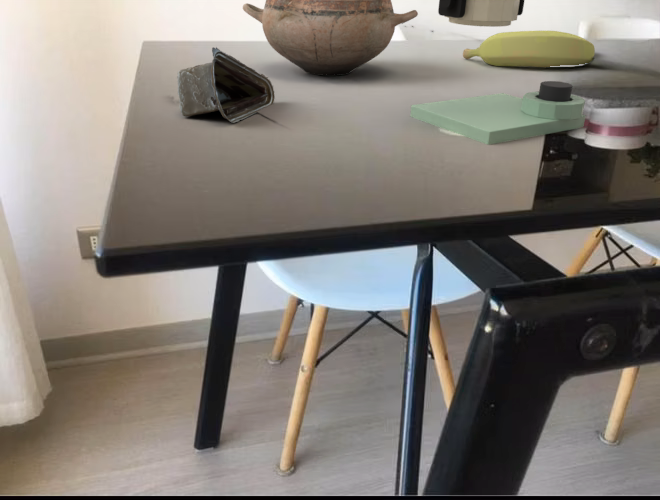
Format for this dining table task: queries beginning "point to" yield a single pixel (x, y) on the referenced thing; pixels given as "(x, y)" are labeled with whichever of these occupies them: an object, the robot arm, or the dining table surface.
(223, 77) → the hollow triangular tube
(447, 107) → the scale
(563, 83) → the button
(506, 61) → the banana
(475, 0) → the beige faceted cup
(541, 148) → the dining table surface
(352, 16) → the cooking pot
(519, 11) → the robot arm
